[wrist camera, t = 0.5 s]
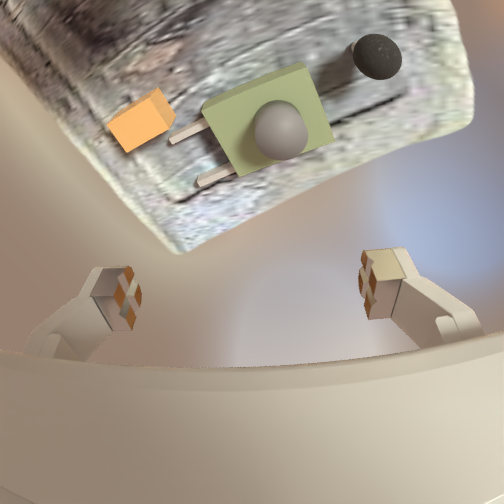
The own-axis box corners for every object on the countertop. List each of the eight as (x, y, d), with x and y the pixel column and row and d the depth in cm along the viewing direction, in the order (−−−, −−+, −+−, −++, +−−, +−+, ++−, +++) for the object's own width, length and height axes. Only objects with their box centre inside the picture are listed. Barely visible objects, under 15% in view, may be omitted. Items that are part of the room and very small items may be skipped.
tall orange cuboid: (118, 111, 40) (106, 124, 37) (158, 87, 38) (148, 97, 35) (136, 137, 43) (126, 152, 40) (176, 115, 41) (169, 129, 38)
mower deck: (164, 122, 42) (148, 150, 35) (301, 61, 36) (314, 76, 30) (201, 180, 49) (194, 215, 42) (328, 129, 43) (344, 158, 37)
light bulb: (329, 41, 34) (352, 53, 27) (362, 21, 32) (394, 28, 24) (353, 73, 37) (379, 94, 30) (384, 54, 35) (418, 71, 27)
